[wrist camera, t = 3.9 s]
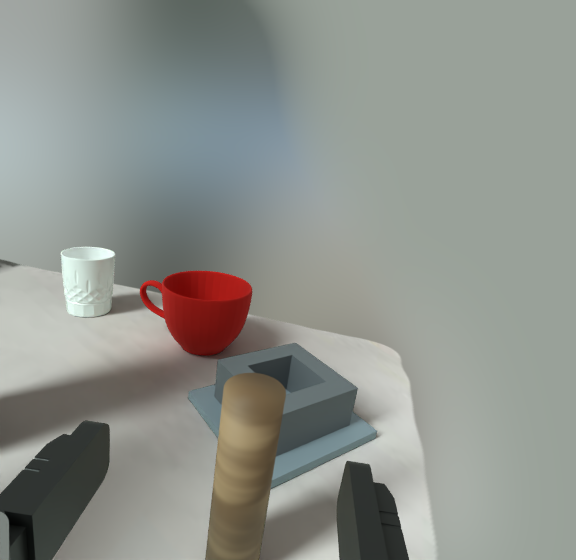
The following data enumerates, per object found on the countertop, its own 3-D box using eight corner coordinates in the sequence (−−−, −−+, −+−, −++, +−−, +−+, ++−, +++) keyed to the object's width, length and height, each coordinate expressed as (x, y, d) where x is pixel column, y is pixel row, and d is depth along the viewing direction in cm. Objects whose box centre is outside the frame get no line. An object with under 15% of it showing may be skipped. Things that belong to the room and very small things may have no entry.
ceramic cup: (158, 317, 68) (161, 261, 65) (253, 335, 66) (260, 279, 63) (116, 351, 55) (117, 284, 52) (232, 374, 54) (239, 307, 51)
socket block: (259, 494, 36) (267, 440, 34) (188, 398, 47) (191, 354, 46) (375, 438, 45) (386, 393, 43) (292, 370, 57) (298, 332, 55)
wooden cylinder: (220, 599, 27) (244, 417, 22) (196, 550, 30) (212, 380, 25) (268, 568, 29) (298, 398, 25) (241, 526, 32) (264, 367, 28)
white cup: (75, 323, 61) (73, 262, 58) (54, 306, 66) (52, 249, 63) (123, 312, 67) (124, 257, 64) (101, 298, 72) (101, 245, 69)
